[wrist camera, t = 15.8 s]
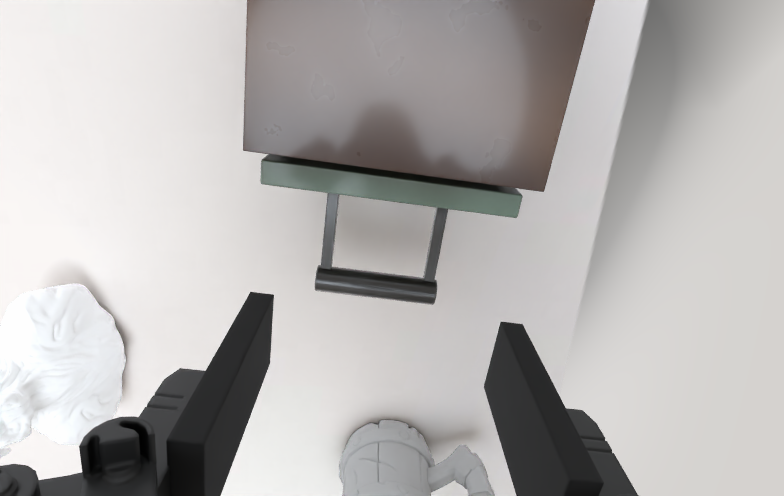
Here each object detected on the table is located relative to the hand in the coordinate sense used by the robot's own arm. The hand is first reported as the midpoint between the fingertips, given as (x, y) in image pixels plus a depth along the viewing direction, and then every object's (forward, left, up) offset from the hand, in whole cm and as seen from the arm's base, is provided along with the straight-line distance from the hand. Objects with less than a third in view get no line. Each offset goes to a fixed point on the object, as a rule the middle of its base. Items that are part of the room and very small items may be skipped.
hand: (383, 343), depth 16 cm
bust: (-14, +21, -17) cm, 31 cm away
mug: (-21, -5, -17) cm, 28 cm away
